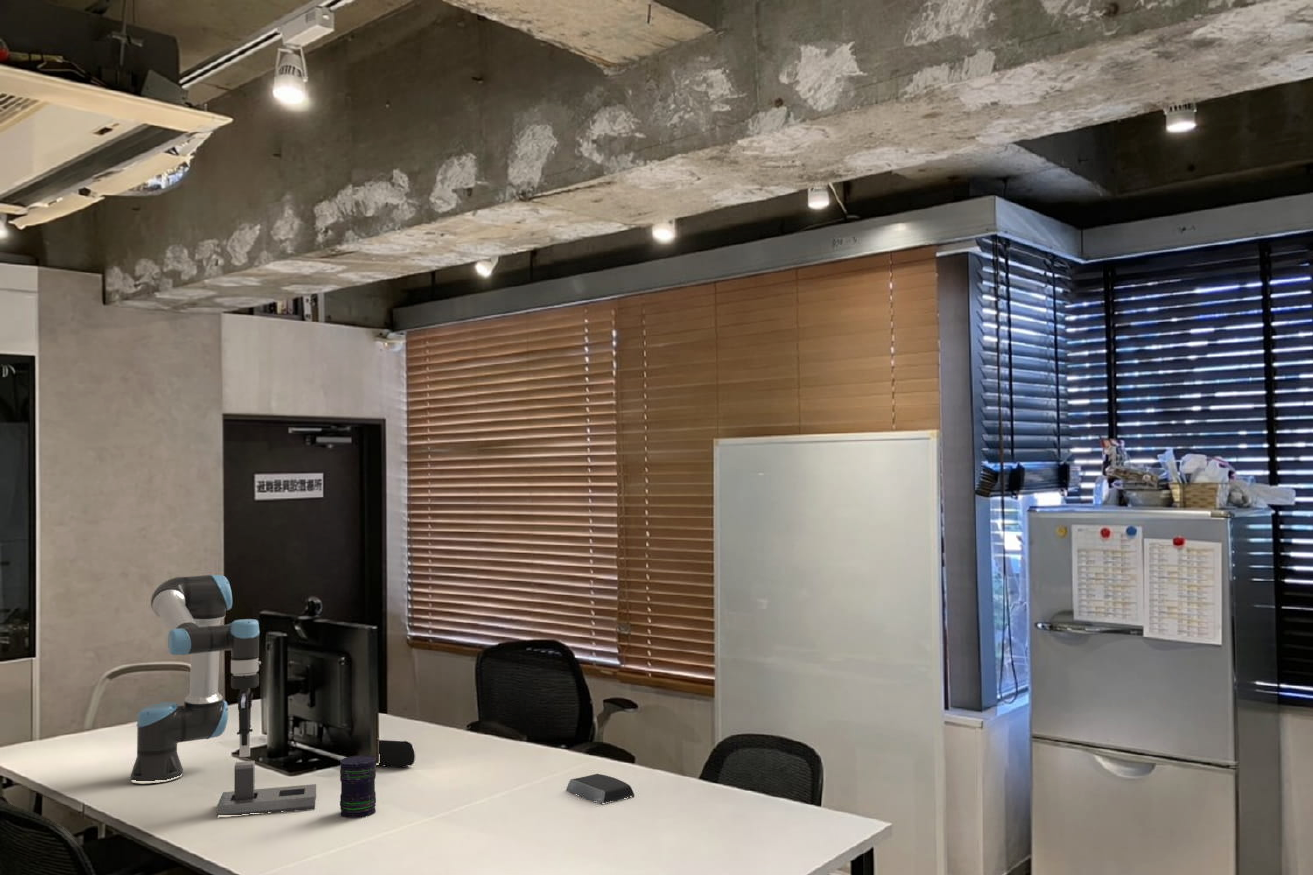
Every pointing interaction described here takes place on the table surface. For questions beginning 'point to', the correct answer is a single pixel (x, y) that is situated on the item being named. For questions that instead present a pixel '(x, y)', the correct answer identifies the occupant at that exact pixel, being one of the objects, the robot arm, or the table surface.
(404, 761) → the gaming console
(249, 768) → the plug
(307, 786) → the socket board
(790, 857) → the table surface
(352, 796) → the storage jar
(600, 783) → the external hard drive
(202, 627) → the robot arm
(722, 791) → the table surface
